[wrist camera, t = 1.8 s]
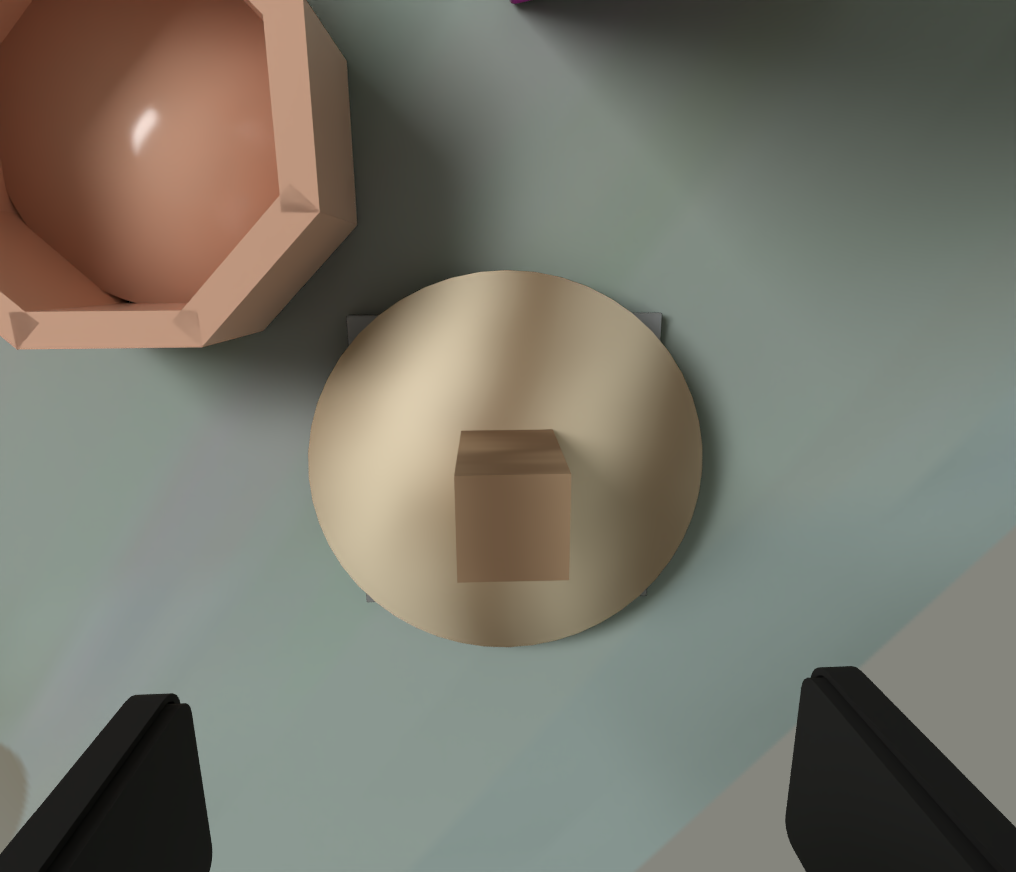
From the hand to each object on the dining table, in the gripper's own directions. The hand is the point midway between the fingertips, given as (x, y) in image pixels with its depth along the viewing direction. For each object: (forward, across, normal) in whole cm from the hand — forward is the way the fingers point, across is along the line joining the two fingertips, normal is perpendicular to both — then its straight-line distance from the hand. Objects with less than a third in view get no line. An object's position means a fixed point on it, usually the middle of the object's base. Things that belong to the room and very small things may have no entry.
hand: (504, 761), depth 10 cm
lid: (+14, -1, 0) cm, 14 cm away
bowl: (+15, +10, -11) cm, 21 cm away
